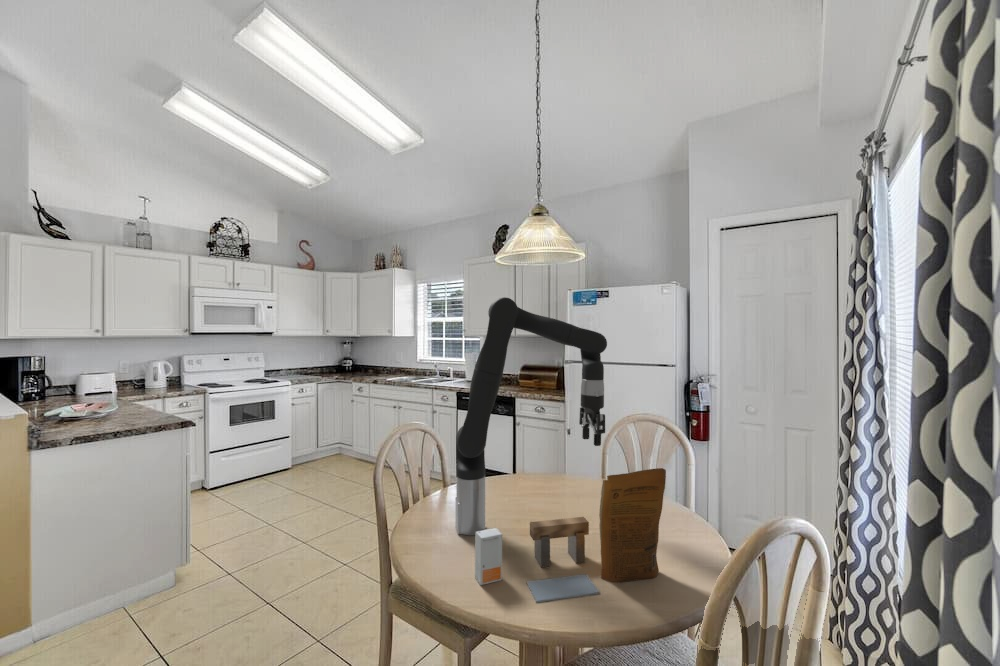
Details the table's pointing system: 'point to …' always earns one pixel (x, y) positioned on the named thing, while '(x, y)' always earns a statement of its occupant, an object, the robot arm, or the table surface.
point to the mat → (562, 588)
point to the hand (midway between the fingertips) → (591, 442)
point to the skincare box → (488, 556)
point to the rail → (559, 528)
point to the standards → (574, 549)
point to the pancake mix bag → (631, 524)
